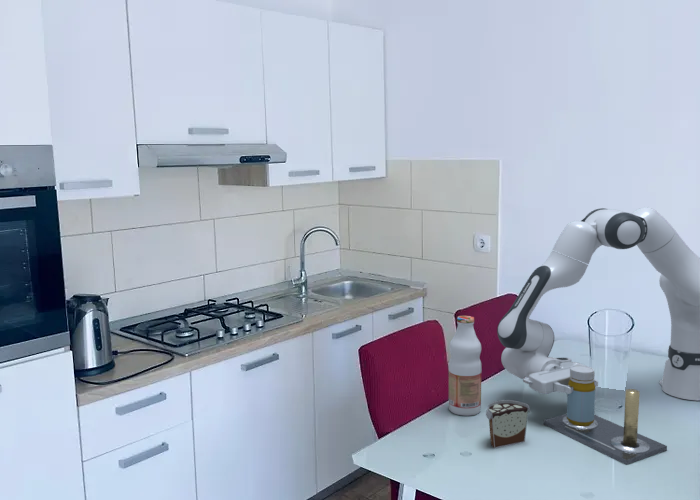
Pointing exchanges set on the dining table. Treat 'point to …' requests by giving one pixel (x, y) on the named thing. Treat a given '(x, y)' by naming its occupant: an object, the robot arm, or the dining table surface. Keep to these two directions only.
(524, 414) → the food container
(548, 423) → the gauge plate
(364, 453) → the dining table surface
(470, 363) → the fruit juice
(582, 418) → the bottle
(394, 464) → the dining table surface
